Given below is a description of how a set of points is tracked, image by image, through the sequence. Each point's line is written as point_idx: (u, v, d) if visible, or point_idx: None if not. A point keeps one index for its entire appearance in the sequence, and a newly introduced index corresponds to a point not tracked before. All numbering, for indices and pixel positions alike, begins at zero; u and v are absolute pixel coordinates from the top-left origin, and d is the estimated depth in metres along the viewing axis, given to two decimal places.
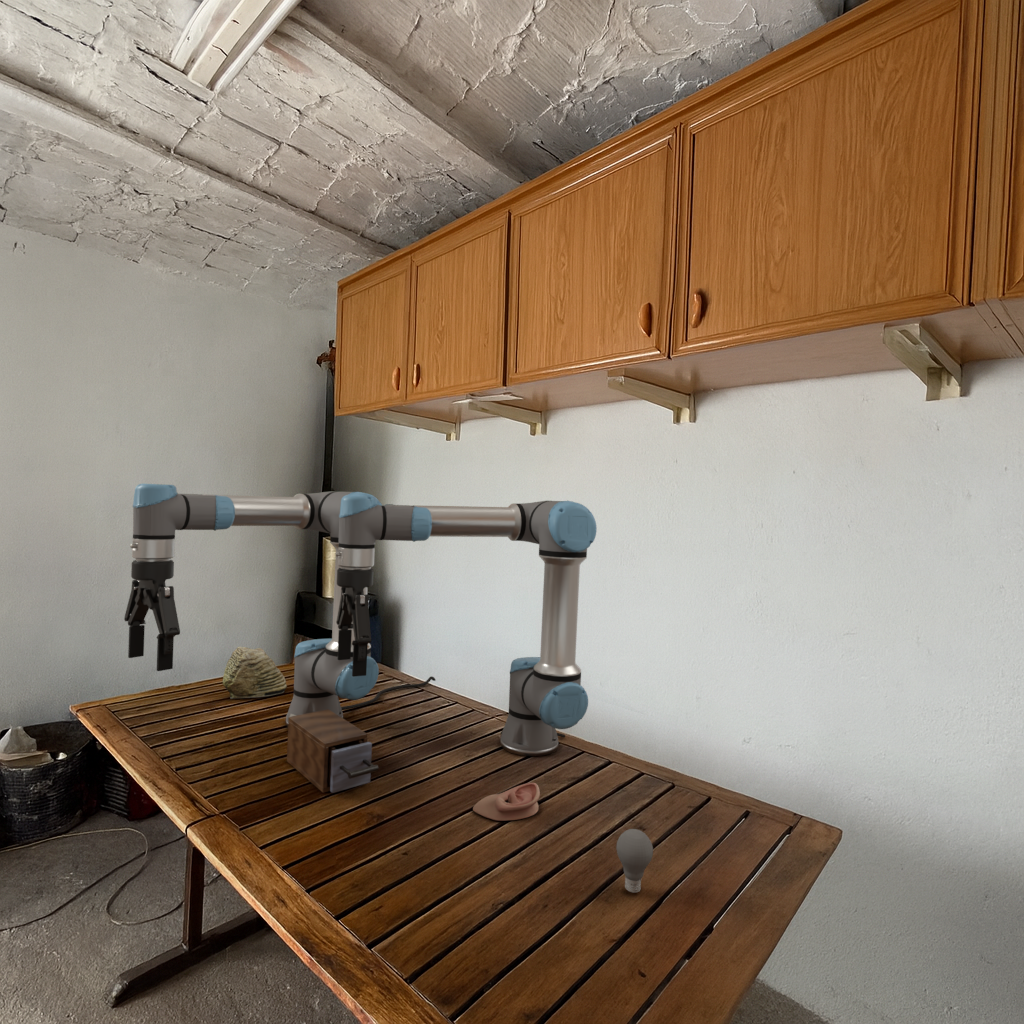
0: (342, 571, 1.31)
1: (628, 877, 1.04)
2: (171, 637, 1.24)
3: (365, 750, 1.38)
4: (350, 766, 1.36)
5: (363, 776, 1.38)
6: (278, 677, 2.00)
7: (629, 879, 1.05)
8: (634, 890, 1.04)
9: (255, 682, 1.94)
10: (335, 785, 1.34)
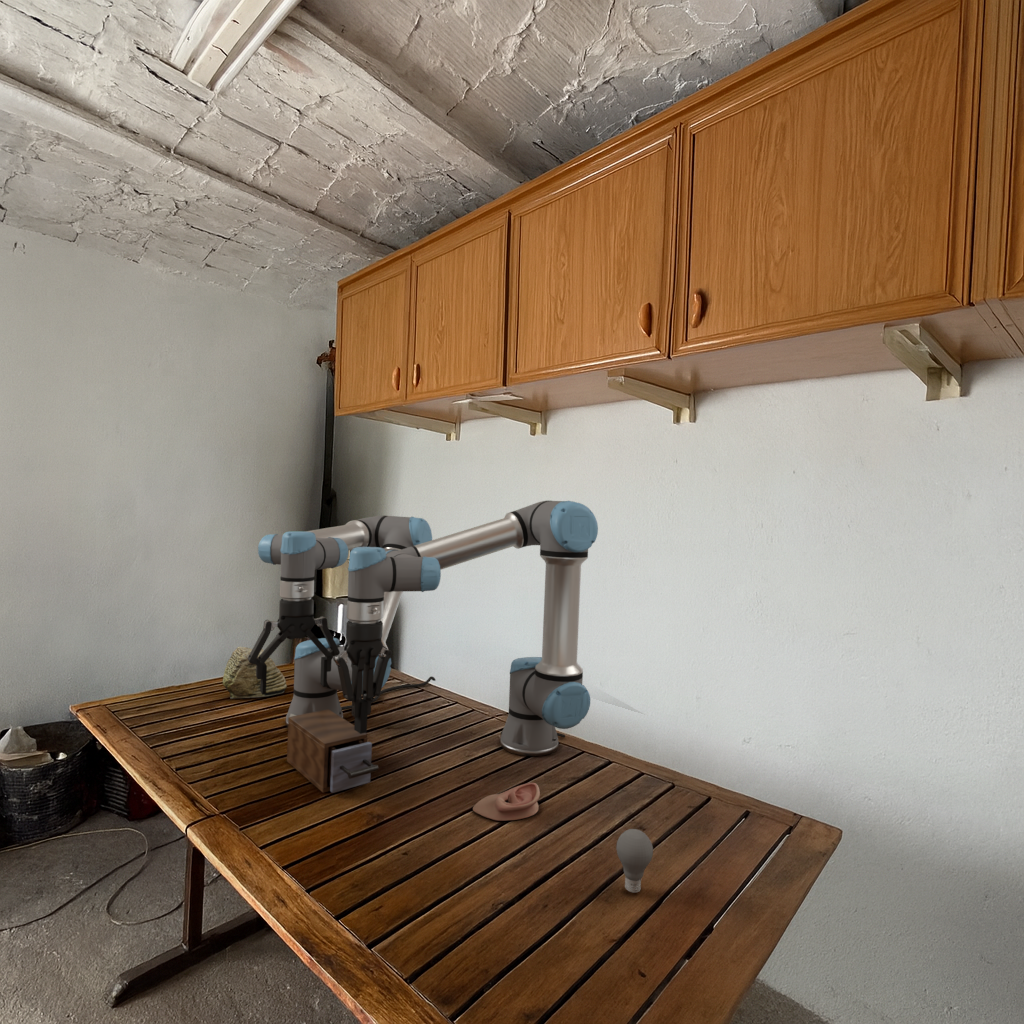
0: (379, 624, 1.33)
1: (628, 877, 1.04)
2: None
3: (365, 750, 1.38)
4: (350, 766, 1.36)
5: (363, 776, 1.38)
6: (278, 677, 2.00)
7: (629, 879, 1.05)
8: (634, 890, 1.04)
9: (255, 682, 1.94)
10: (335, 785, 1.34)
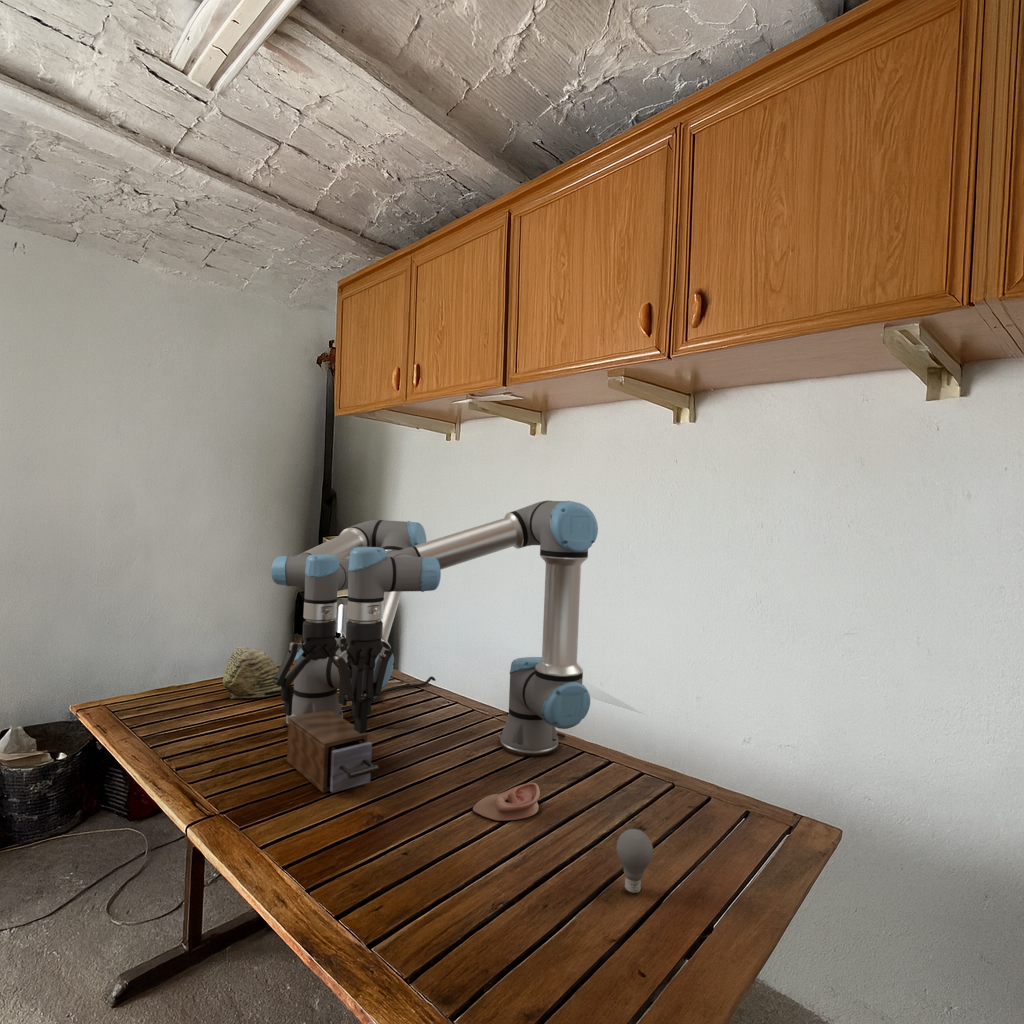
0: (379, 624, 1.33)
1: (628, 877, 1.04)
2: None
3: (365, 750, 1.38)
4: (350, 766, 1.36)
5: (363, 776, 1.38)
6: None
7: (629, 879, 1.05)
8: (634, 890, 1.04)
9: (255, 682, 1.94)
10: (335, 785, 1.34)
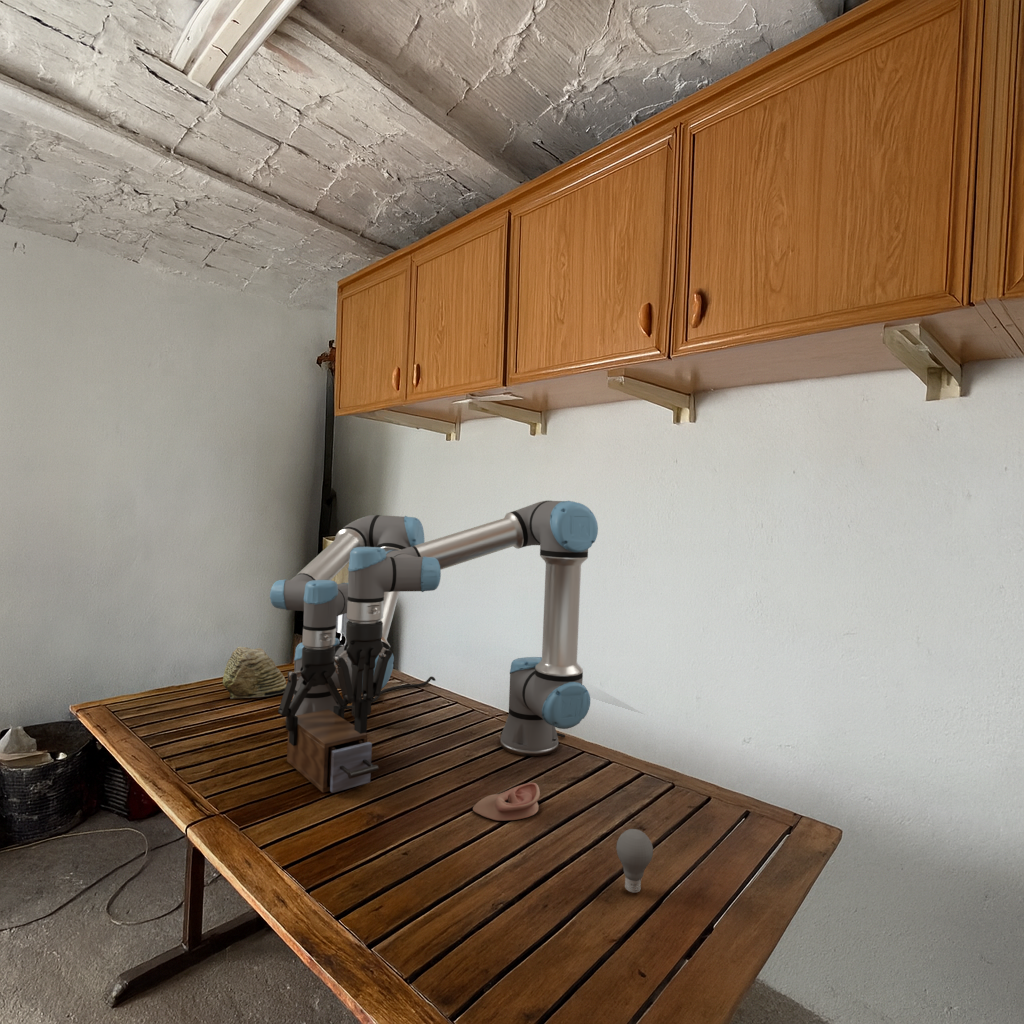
0: (379, 624, 1.33)
1: (628, 877, 1.04)
2: None
3: (365, 750, 1.38)
4: (350, 766, 1.36)
5: (363, 776, 1.38)
6: (278, 677, 2.00)
7: (629, 879, 1.05)
8: (634, 890, 1.04)
9: (255, 682, 1.94)
10: (335, 785, 1.34)
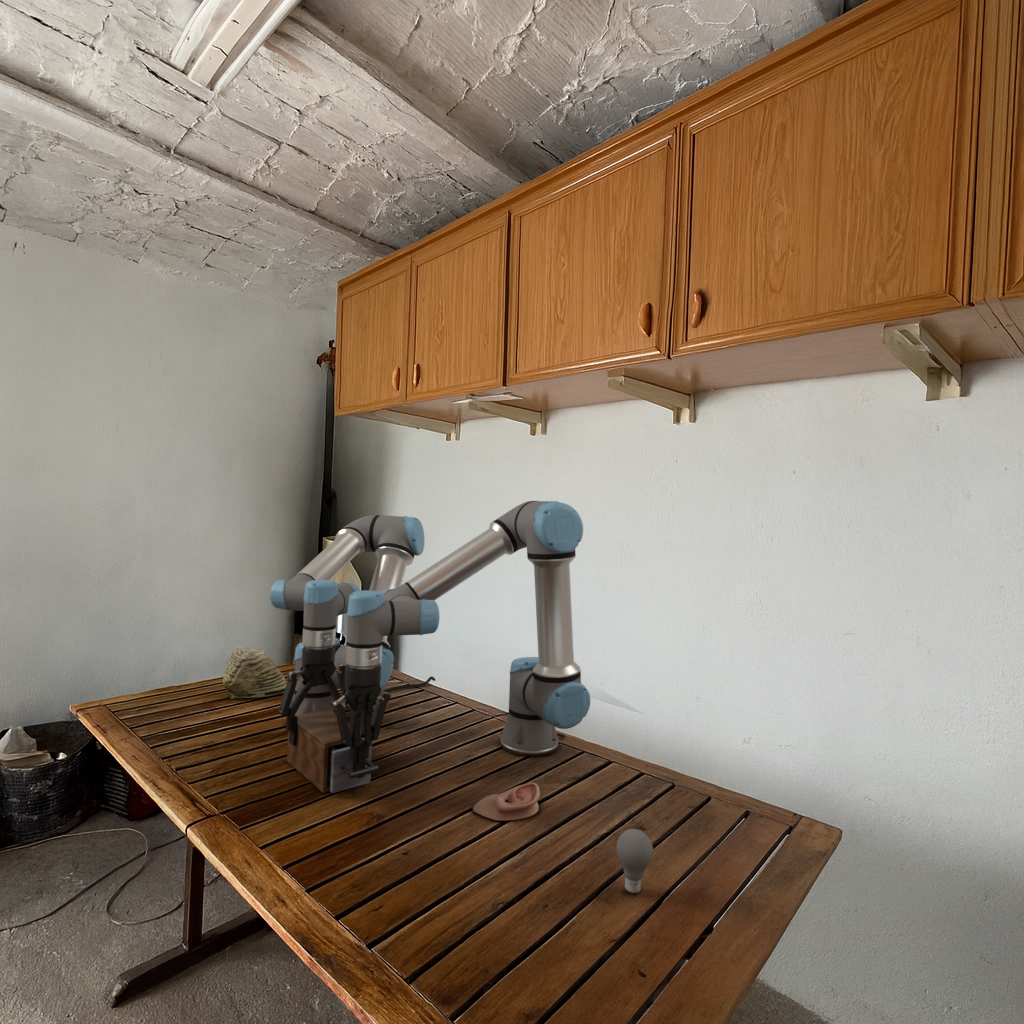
0: (378, 669, 1.33)
1: (628, 877, 1.04)
2: None
3: None
4: (350, 766, 1.36)
5: None
6: (278, 677, 2.00)
7: (629, 879, 1.05)
8: (634, 890, 1.04)
9: (255, 682, 1.94)
10: (336, 786, 1.34)
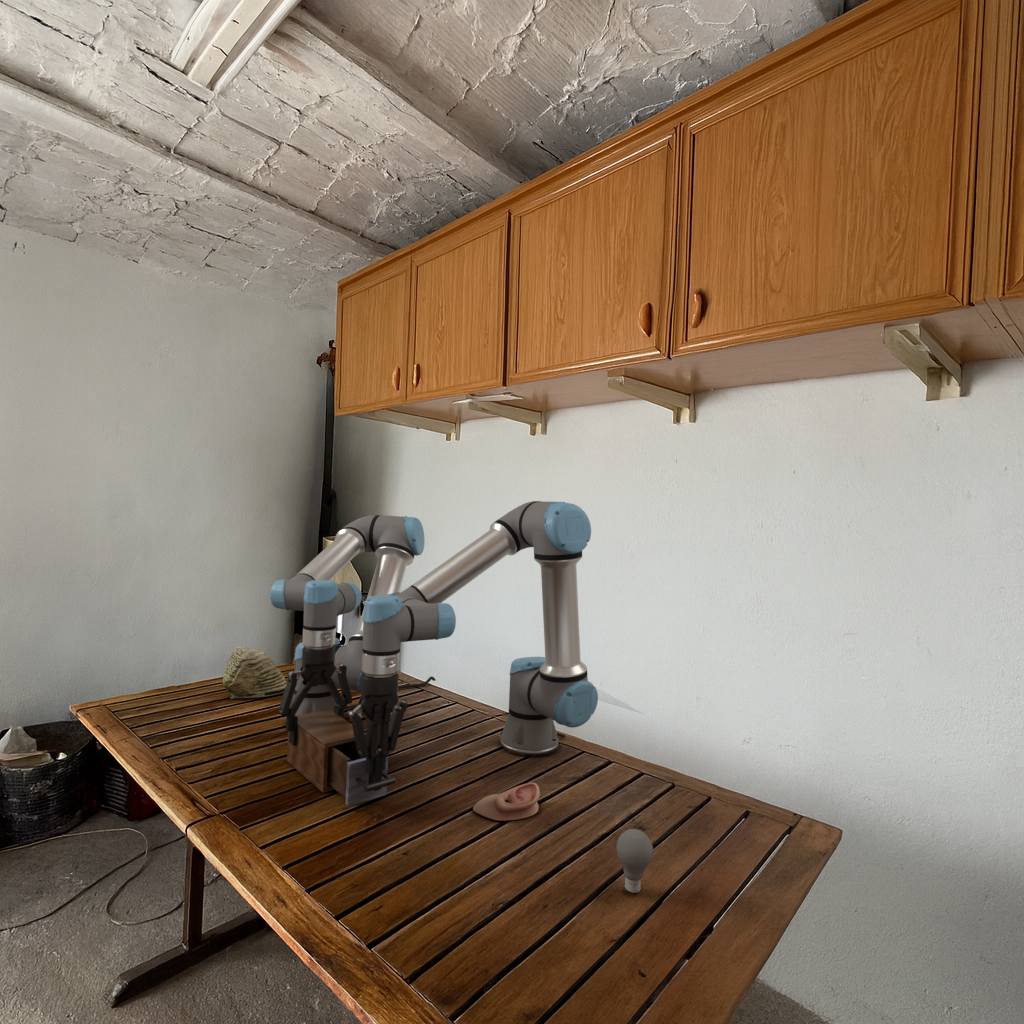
0: (395, 677, 1.27)
1: (628, 877, 1.04)
2: None
3: None
4: (366, 778, 1.31)
5: None
6: (278, 677, 2.00)
7: (629, 879, 1.05)
8: (634, 890, 1.04)
9: (255, 682, 1.94)
10: (351, 799, 1.29)
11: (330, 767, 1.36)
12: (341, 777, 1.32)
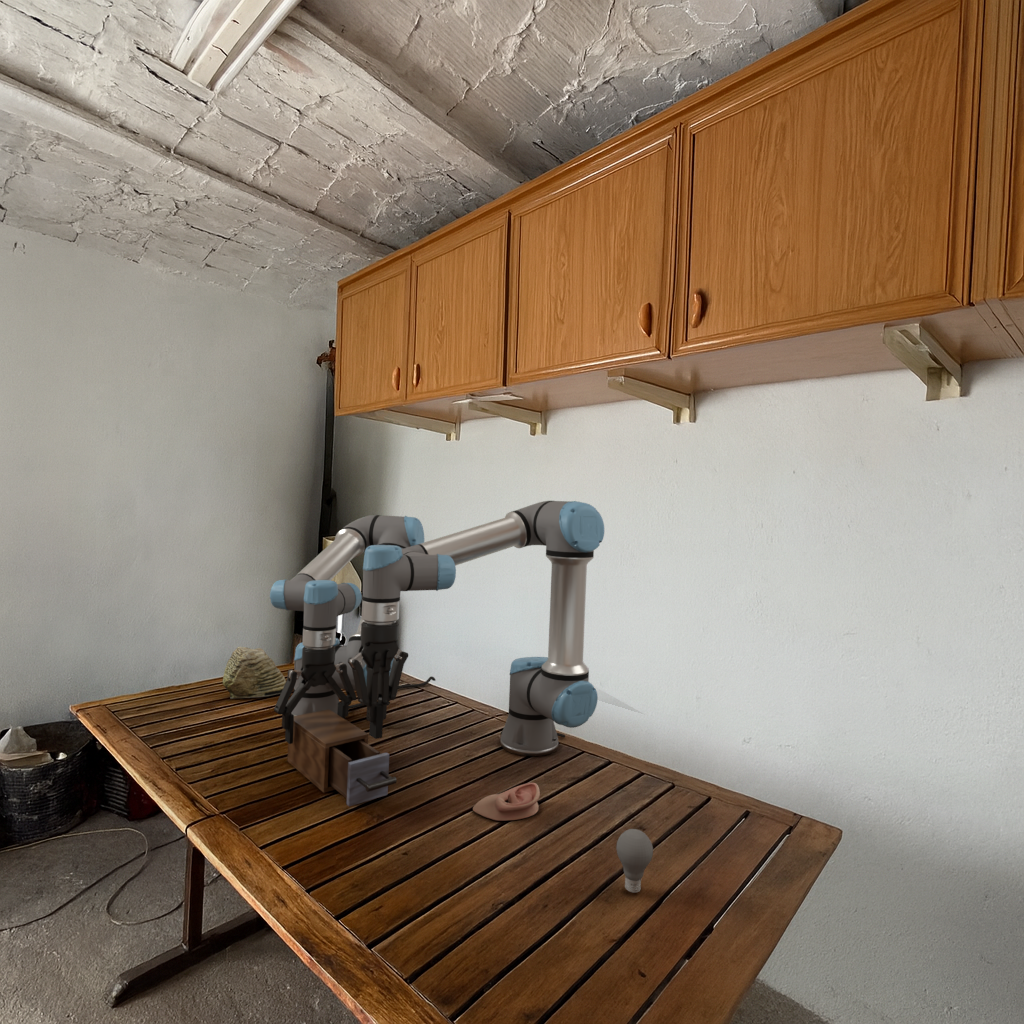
0: (396, 625, 1.28)
1: (628, 877, 1.04)
2: None
3: (382, 761, 1.33)
4: (367, 778, 1.31)
5: (380, 788, 1.33)
6: (278, 677, 2.00)
7: (629, 879, 1.05)
8: (634, 890, 1.04)
9: (255, 682, 1.94)
10: (352, 799, 1.29)
11: (331, 767, 1.36)
12: (342, 777, 1.32)
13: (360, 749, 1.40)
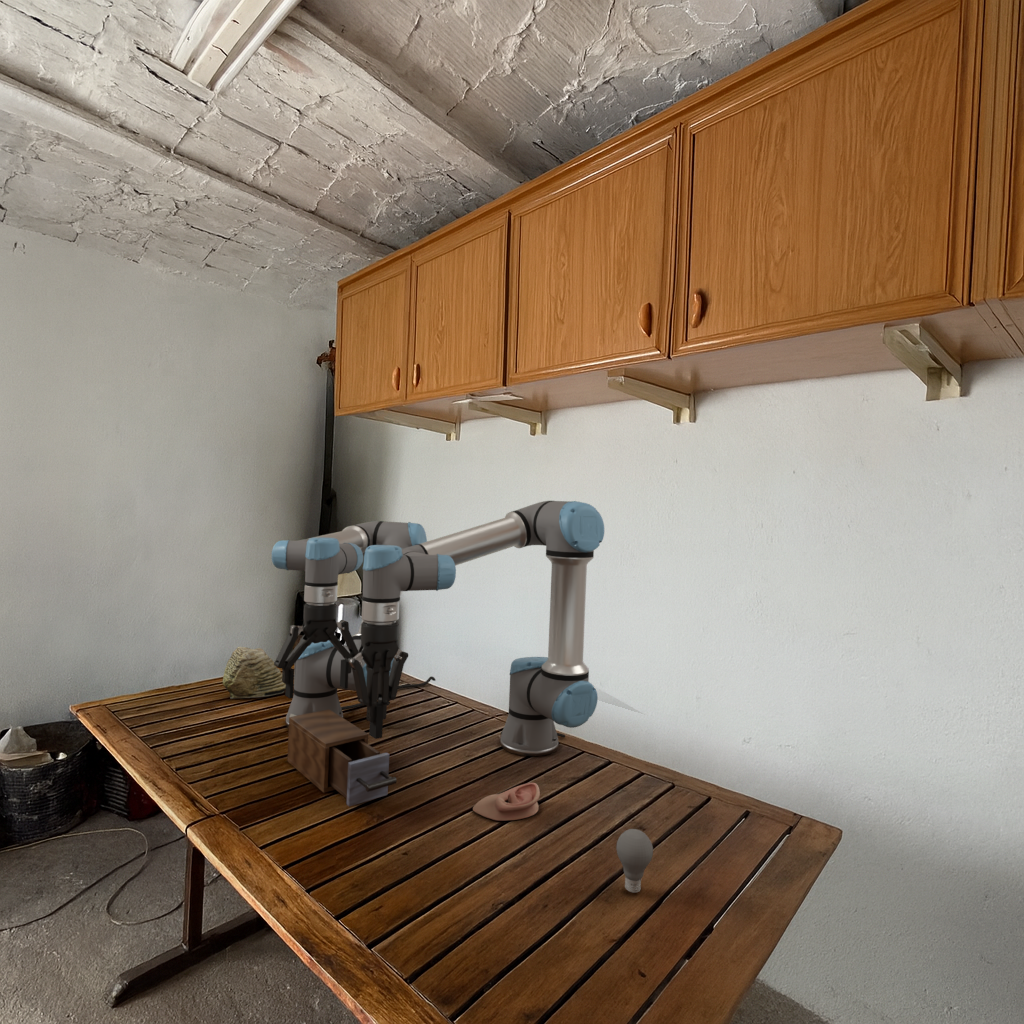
0: (396, 625, 1.28)
1: (628, 877, 1.04)
2: None
3: (382, 761, 1.33)
4: (367, 778, 1.31)
5: (380, 788, 1.33)
6: (278, 677, 2.00)
7: (629, 879, 1.05)
8: (634, 890, 1.04)
9: (255, 682, 1.94)
10: (352, 799, 1.29)
11: (331, 767, 1.36)
12: (342, 777, 1.32)
13: (360, 749, 1.40)
